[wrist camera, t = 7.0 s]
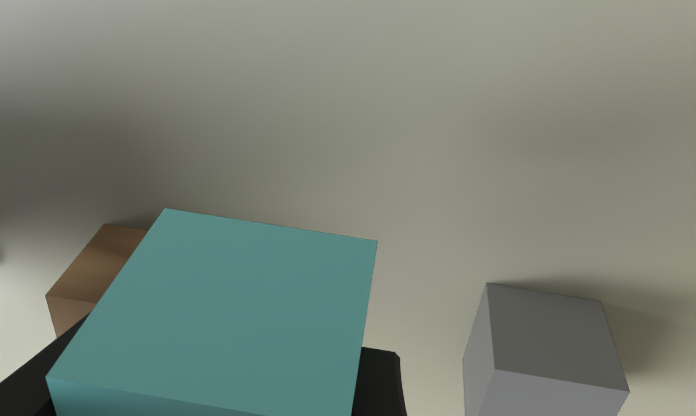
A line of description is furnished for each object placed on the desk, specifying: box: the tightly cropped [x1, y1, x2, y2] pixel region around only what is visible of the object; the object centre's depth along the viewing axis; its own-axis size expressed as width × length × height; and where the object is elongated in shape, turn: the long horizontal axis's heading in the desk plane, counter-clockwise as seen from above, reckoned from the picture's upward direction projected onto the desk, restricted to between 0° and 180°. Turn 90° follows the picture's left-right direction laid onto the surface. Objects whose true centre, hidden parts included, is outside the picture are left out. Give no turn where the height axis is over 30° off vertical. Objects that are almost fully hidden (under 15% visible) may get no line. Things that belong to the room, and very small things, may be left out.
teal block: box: [46, 208, 377, 416], centre depth 10 cm, size 4×4×4 cm
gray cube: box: [463, 283, 630, 416], centre depth 20 cm, size 4×4×4 cm
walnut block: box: [45, 224, 148, 338], centre depth 21 cm, size 4×4×4 cm
